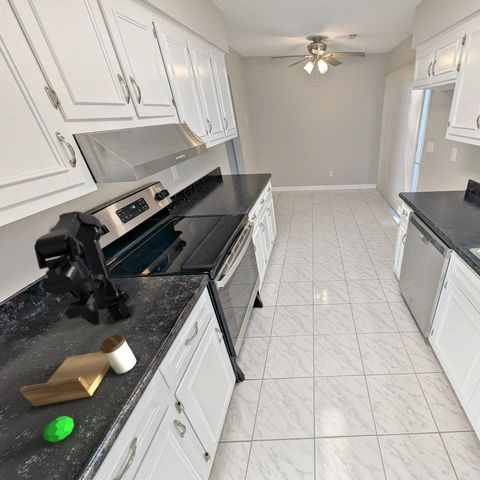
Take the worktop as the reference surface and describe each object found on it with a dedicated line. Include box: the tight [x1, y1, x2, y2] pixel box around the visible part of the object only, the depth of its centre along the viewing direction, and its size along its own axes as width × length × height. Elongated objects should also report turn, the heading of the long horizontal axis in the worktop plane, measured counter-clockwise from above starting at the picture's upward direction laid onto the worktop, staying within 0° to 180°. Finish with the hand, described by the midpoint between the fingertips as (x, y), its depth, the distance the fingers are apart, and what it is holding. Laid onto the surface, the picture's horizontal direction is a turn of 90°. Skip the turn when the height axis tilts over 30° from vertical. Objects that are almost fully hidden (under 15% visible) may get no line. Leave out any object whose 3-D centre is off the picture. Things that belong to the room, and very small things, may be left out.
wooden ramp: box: [18, 351, 111, 407], centre depth 73 cm, size 14×14×7 cm
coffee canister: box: [98, 334, 137, 375], centre depth 75 cm, size 6×6×10 cm
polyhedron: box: [43, 415, 75, 443], centre depth 60 cm, size 5×5×5 cm
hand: (99, 315), depth 81 cm, fingers open, 9 cm apart
